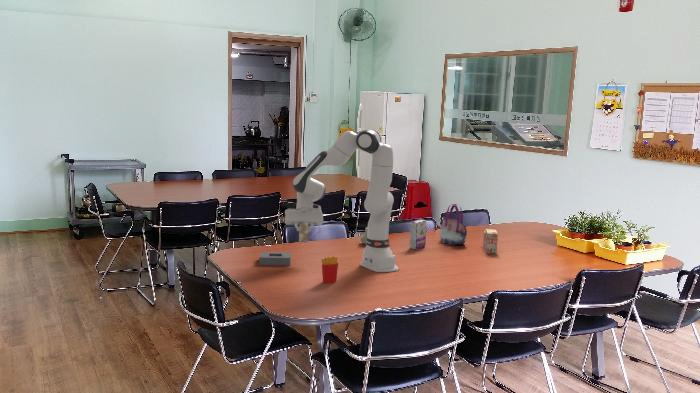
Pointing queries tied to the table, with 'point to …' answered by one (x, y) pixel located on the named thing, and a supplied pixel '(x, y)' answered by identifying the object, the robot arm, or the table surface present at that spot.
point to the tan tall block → (303, 232)
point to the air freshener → (364, 236)
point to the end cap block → (275, 258)
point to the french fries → (329, 269)
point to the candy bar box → (417, 234)
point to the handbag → (453, 228)
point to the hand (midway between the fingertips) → (303, 230)
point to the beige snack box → (490, 241)
